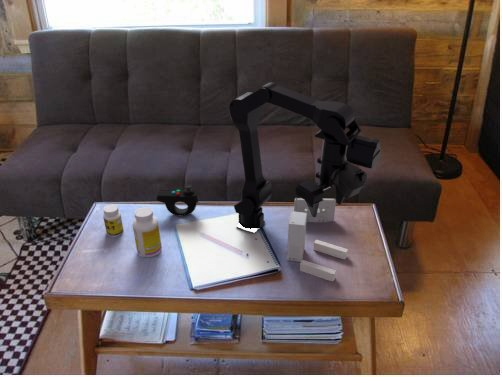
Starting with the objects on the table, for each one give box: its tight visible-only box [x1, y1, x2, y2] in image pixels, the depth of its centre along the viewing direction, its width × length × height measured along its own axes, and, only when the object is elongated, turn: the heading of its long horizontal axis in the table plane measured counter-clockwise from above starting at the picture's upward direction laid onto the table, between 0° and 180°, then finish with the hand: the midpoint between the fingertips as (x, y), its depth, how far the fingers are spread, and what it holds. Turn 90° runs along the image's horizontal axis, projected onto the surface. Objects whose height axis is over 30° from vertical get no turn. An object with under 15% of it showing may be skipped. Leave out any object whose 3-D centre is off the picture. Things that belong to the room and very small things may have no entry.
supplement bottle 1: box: [102, 204, 124, 238], centre depth 132 cm, size 5×5×8 cm
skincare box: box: [286, 210, 307, 263], centre depth 122 cm, size 6×4×12 cm
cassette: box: [293, 197, 337, 223], centre depth 137 cm, size 12×2×8 cm, turn 89°
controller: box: [156, 184, 199, 217], centre depth 139 cm, size 4×12×10 cm, turn 90°
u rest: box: [299, 239, 349, 282], centre depth 122 cm, size 9×11×2 cm
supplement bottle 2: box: [132, 206, 162, 258], centre depth 124 cm, size 7×7×13 cm
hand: (326, 210), depth 119 cm, fingers open, 9 cm apart
